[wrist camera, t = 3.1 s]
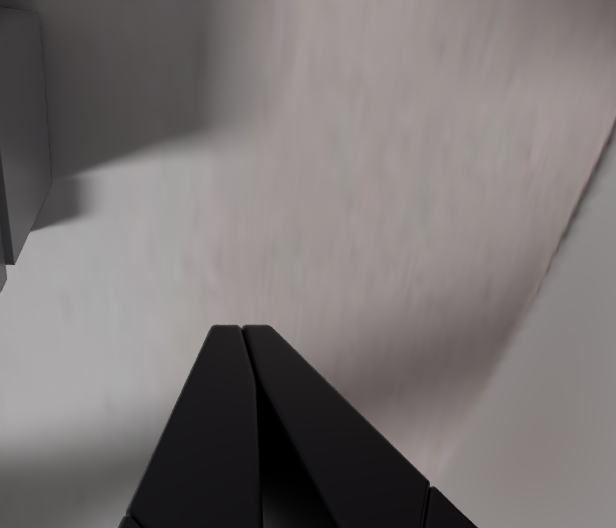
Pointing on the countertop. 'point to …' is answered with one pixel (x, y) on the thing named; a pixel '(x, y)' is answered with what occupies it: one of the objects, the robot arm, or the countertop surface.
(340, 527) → the robot arm
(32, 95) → the dark grey stepped block
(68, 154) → the countertop surface
